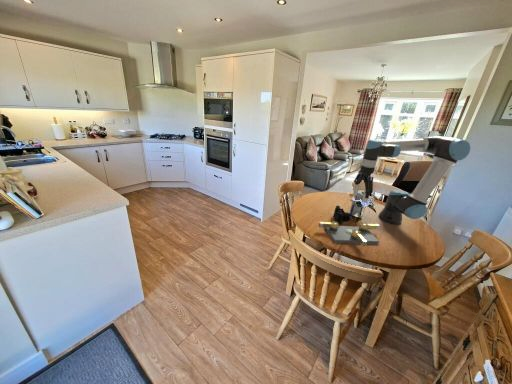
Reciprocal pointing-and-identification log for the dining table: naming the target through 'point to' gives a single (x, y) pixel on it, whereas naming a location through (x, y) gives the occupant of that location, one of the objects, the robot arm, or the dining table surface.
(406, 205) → the robot arm
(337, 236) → the level plate
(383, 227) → the dining table surface
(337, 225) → the knob
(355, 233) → the knob left
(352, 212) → the milk carton
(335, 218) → the camera
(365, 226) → the knob
